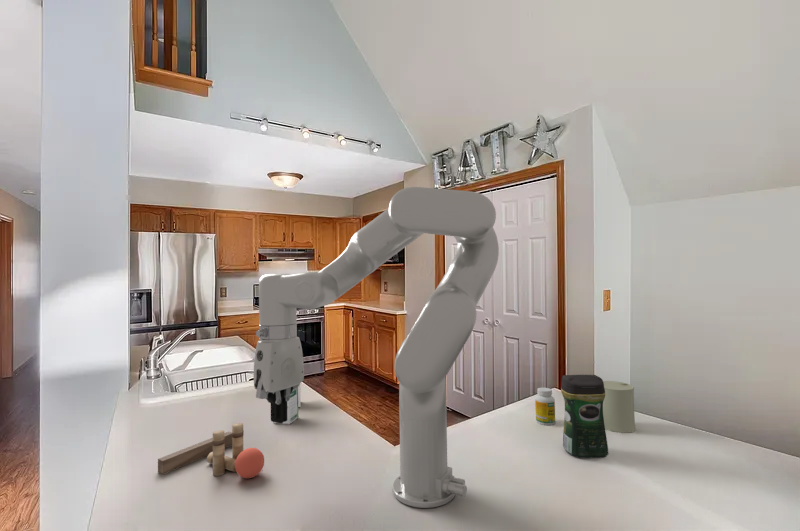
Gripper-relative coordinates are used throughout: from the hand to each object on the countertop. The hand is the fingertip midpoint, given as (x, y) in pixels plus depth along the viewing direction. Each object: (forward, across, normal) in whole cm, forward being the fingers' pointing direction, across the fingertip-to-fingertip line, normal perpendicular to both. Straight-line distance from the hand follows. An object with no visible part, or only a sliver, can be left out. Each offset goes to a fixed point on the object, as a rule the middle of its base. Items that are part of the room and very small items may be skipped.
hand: (279, 421), depth 83 cm
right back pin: (+13, +2, +16) cm, 21 cm away
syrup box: (+14, +28, +28) cm, 42 cm away
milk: (+14, +39, +37) cm, 55 cm away
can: (+14, +69, -59) cm, 92 cm away
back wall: (+13, 0, +28) cm, 31 cm away
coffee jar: (+14, +47, -53) cm, 72 cm away
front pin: (+12, 0, +14) cm, 18 cm away
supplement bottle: (+14, +63, -41) cm, 76 cm away
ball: (+10, 0, +9) cm, 14 cm away
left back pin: (+13, -2, +16) cm, 21 cm away
